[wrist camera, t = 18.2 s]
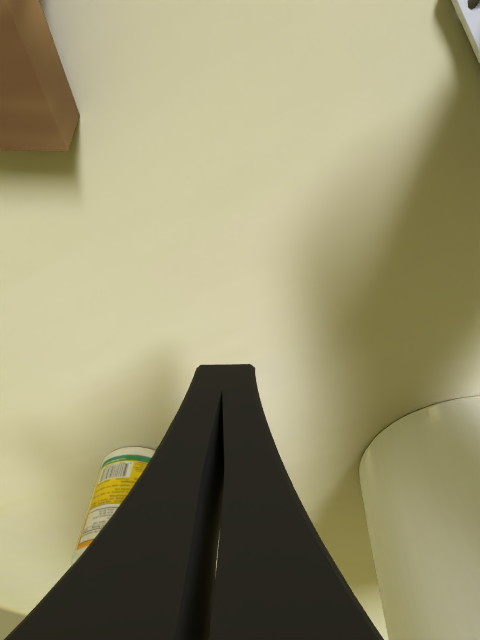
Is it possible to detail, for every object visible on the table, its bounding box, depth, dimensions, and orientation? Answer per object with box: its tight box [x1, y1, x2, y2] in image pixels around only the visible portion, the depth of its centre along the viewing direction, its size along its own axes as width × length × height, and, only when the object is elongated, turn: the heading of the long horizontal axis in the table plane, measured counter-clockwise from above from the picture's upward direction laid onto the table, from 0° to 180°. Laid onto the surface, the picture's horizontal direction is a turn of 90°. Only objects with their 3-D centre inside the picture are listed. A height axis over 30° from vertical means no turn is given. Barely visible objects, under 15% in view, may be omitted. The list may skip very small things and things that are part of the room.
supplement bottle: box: [72, 447, 155, 565], centre depth 27 cm, size 5×5×10 cm
